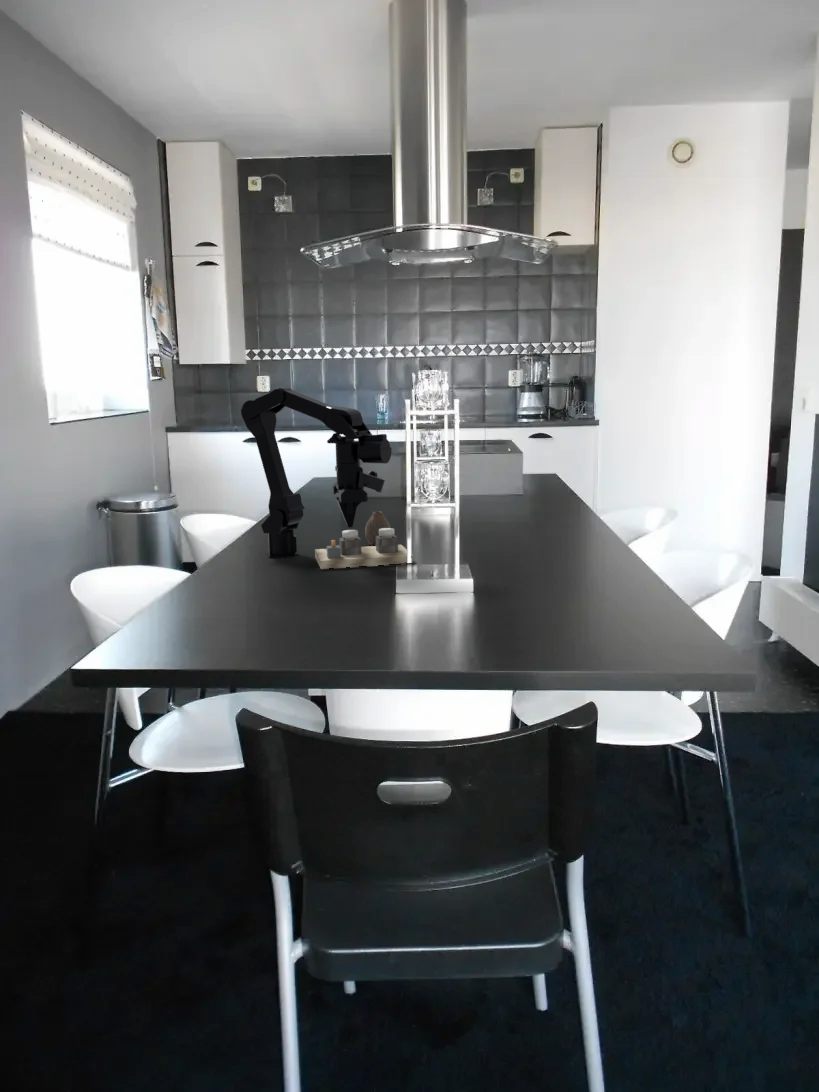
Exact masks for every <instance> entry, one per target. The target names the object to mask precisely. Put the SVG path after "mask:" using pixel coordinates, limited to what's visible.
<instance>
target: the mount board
mask: <svg viewBox="0 0 819 1092" xmlns="http://www.w3.org/2000/svg"><path fill="white" fill-rule="evenodd" d="M338 541H339V546H340V548H341V558H331V559H328V557H327V548H315V549H314V555H315V556H314V559H315V560H316V562H317V564H318V567H320V568H319V569H321V570H330V569H329V568H334V569H347V568H346V567H350V568H360V567H359V566H367V567H379V566H378V565H384V566H390V565H389V564H399V563H404V562H407V550H408V549H407V548H406V547H405V546H403V545H402V544H399V537H397V535H395V534H394V536H392V538H382V536H376V546H373V545H371V546H362V539H361V538H360V536H358V537H357V538H355V540H345V538H342V537H339V540H338ZM411 558H412V559H413V558H414V554H412V553H411ZM413 560H414V559H413Z"/></svg>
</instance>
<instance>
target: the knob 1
mask: <svg viewBox="0 0 819 1092" xmlns="http://www.w3.org/2000/svg"><path fill="white" fill-rule="evenodd" d="M341 535H342V537H341V538H345V540H355V538H357V537H359V530H357V529H346V530H342V531H341Z"/></svg>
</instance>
